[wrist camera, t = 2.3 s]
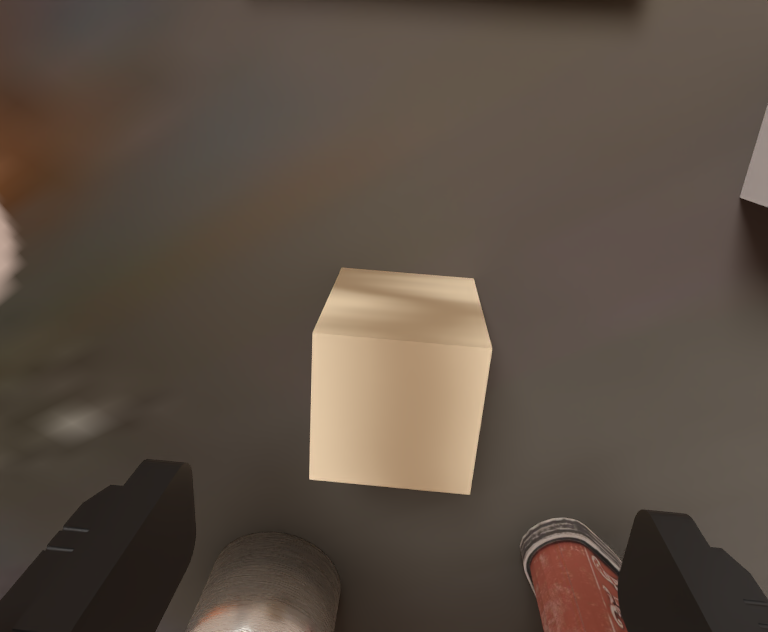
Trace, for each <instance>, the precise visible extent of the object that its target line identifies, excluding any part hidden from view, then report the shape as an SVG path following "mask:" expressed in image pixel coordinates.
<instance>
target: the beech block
mask: <svg viewBox="0 0 768 632" xmlns="http://www.w3.org/2000/svg"><path fill="white" fill-rule="evenodd" d="M491 354H492V346H491V342H490V338H489V334H488V331H487V327H486V323H485V319H484V316H483V312H482V308H481V304H480V301H479V297H478V293H477V289H476V286H475V282H474V279H472V278H460V277H448V276H436V275H424V274H412V273H400V272H388V271H376V270H364V269H352V268H341V270H340V273H339V275H338V277H337V279H336V282H335V284H334V286H333V288H332V291H331V293H330V295H329V297H328V299H327V302H326V304H325V306H324V308H323V311H322V313H321V315H320V317H319V320H318V322H317V324H316V326H315V329H314V331H313V337H312V381H311V425H310V469H309V479H310V480H321V481H331V482H342V483H352V484H362V485H373V486H383V487H394V488H404V489H414V490H425V491H435V492H445V493H456V494H466V495H470V491H471V484H472V478H473V471H474V465H475V458H476V451H477V445H478V438H479V432H480V425H481V419H482V412H483V406H484V399H485V393H486V386H487V380H488V373H489V367H490V360H491Z"/></svg>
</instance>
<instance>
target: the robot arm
mask: <svg viewBox="0 0 768 632" xmlns="http://www.w3.org/2000/svg"><path fill="white" fill-rule="evenodd" d="M195 538H196V523H195V508H194V494H193V479H192V470H191V467H190V465H189V464H188V463H182V462H172V461H162V460H152V459H146V460H144V461H143V462H142V463H141V464H140V465H139V466H138V468H137V469H136V470H135V472H134V473H133V474H132V475H131V477H130V478H129V479H128V481H127V482H126V483H125V484H124V486H117V485H110V486H108V487H107V488H105V489H104V490H102V491H101V492H99V493H97V494H96V495H94V496H93V497H91V498H90V499H88V500H87V501H85V502H84V503H82V505H81V506H80V507H79V508H78V509H77V511H76V512H75V513H74V514H73V515H72V516H71V518H70V519H69V520H68V521H67V522H66V524H65V525H64V526H63V530H62V531H59V532H58V533H57V534H56V535H55V537H54V538H53V539H52V540H51V541H50V543H49V544H48V545H47V549H46V550H45V551H44V550H43V551H42V552H41V553H40V554H39V556H38V557H37V558H36V559H35V560H34V561H33V563H32V564H31V565H30V566H29V567H28V569H27V570H26V571H25V572H24V573H23V574H22V576H21V577H20V578H19V579H18V580H17V582H16V583H15V584H14V585H13V586H12V587H11V589H10V590H9V591H8V592H7V593H6V595H5V596H4V597H3V598H2V599H1V600H0V632H155V631H156V629H157V627H158V625H159V623H160V621H161V619H162V617H163V615H164V613H165V611H166V609H167V607H168V605H169V603H170V601H171V599H172V597H173V595H174V593H175V591H176V589H177V587H178V585H179V583H180V581H181V579H182V578H183V576H184V574H185V572H186V570H187V568H188V565H189V563H190V560H191V557H192V554H193V550H194V545H195ZM618 602H619V608H620V612H621V615H622V618H623V621H624V623H625V626H626V629H627V631H628V632H768V599H767V597H766V596H765V595H764V593H763V592H762V590H761V589H760V587H759V586H758V584H757V583H756V581H755V580H754V578H753V577H752V575H751V574H750V573H749V572H748V571H747V570H746V569H745V568H743V567H742V566H741V565H740V564H739V563H738V562H737V561H735V560H734V559H733V558H732V557H731V556H730V555H729V554H727V553H726V552H725V551H724V550H723V549H722V548H714V547H710V546H709V544H708V543H707V541H706V540H705V538H704V536H703V535H702V533H701V532H700V530H699V528H698V527H697V525H696V524H695V522H694V521H693V519H692V518H691V517H690V516H689V515H687V514H683V513H673V512H663V511H653V510H640V511H639V512H638V513H637V515H636V517H635V519H634V523H633V526H632V530H631V533H630V537H629V541H628V544H627V548H626V551H625V555H624V558H623V562H622V566H621V569H620V573H619V577H618Z"/></svg>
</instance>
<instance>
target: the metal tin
mask: <svg viewBox="0 0 768 632" xmlns="http://www.w3.org/2000/svg"><path fill="white" fill-rule="evenodd" d="M340 590H341V583H340V578H339V574H338V572H337V569H336V568H335V566H334V564H333V563H332V561H331V560H330V559H329V557H328V556H327V555H326V554H325V553H324V552H323V551H321V550H320V549H319V548H318V547H316V546H315V545H313V544H312V543H310V542H308V541H306V540H304V539H302V538H299V537H296V536H293V535H289V534H286V533H279V532H258V533H252V534H249V535H245V536H243V537H240V538H238V539H236V540H234V541H233V542H231V543H230V544H229V545H227V546H226V547H225V548H224V549H223V550H222V552H221V553H220V554H219V556H218V558H217V560H216V562H215V565H214V567H213V569H212V571H211V574H210V576H209V578H208V581H207V583H206V585H205V587H204V590H203V592H202V594H201V597H200V599H199V601H198V604H197V606H196V608H195V610H194V613H193V615H192V617H191V620H190V622H189V624H188V626H187V629H186V631H185V632H334V628H335V622H336V616H337V609H338V603H339V597H340Z"/></svg>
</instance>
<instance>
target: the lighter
mask: <svg viewBox="0 0 768 632" xmlns="http://www.w3.org/2000/svg"><path fill="white" fill-rule="evenodd" d="M520 551H521V557H522V561H523V566H524V571H525V574H526V576H527V578H528V581H529V583H530V585H531V587H532V590H533V592H534V594H535V596H536V599H537V603H538V608H539V612H540V616H541V621H542V625H543V630H544V632H628V631H627V629H626V626H625V623H624V621H623V618H622V615H621V612H620V608H619V602H618V577H619V573H620V569H621V566H622V562H621V560H620V559H619V558H618V557H617V555H616V554H615V553H614V552H613V551H612V550H611V549H610V548H609V547H608V546H607V545H606V544H605V543H604V542H603V541H602V540H601V539H600V538H599V537H597V536H596V535H595V534H594V533H593V532H592V531H591V530H590V529H589V528H588V527H587V526H586V525H584V524H583V523H581V522H579V521H577V520H574V519H569V518H552V519H549V520H546V521H543V522H540V523H538V524H537V525H535V526H534V527H532V528H530V529H529V530H528V532H527V533H526V534H525V535H524V536H523V538H522V541H521V544H520Z"/></svg>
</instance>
